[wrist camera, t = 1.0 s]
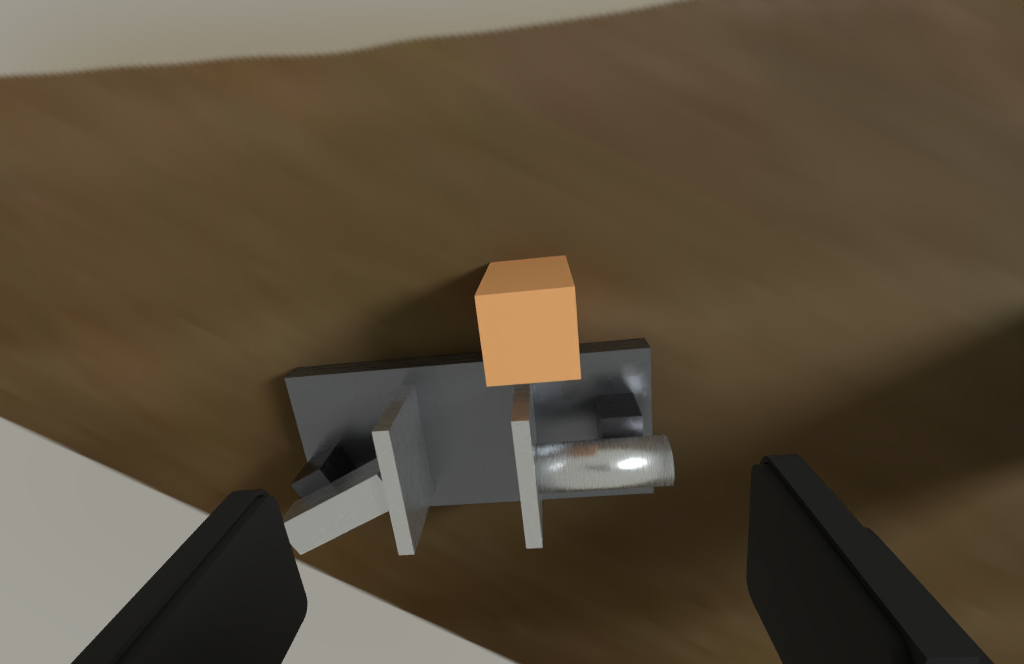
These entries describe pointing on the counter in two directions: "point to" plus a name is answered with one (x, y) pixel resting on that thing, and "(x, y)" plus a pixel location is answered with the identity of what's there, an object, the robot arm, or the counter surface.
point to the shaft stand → (468, 440)
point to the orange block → (528, 322)
